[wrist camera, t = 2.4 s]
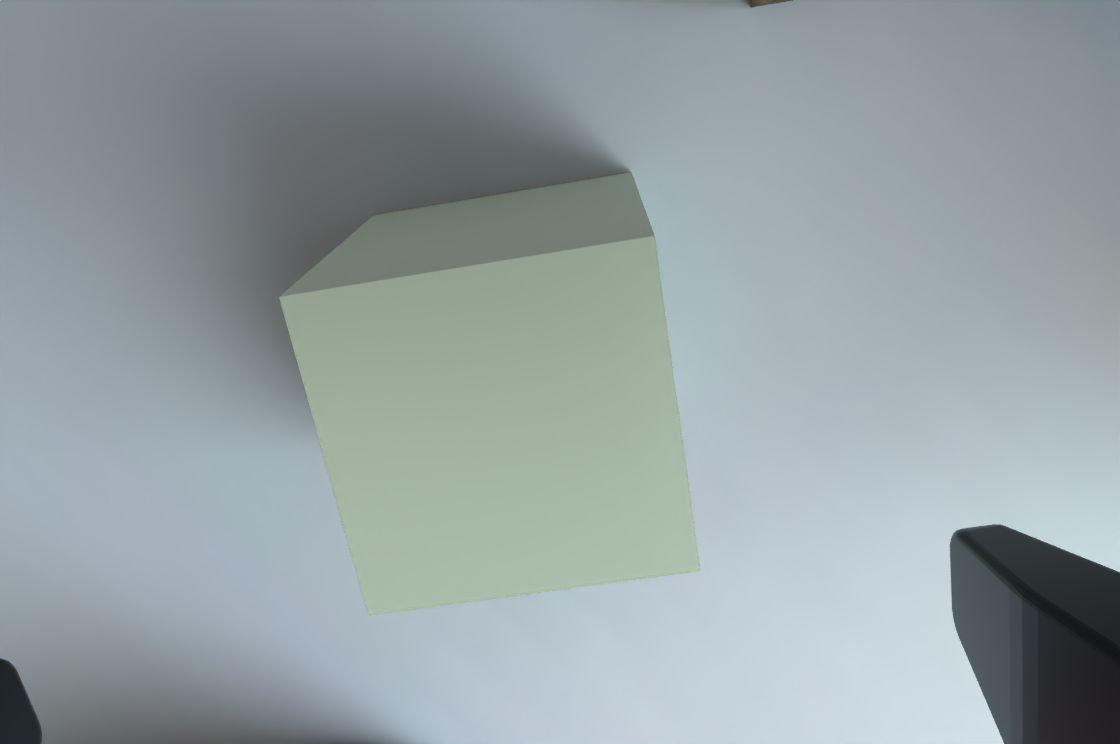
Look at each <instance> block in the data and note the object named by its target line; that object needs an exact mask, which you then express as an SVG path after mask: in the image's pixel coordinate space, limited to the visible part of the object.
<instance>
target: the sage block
mask: <svg viewBox="0 0 1120 744" xmlns="http://www.w3.org/2000/svg"><path fill="white" fill-rule="evenodd" d="M279 299H280V303H281V306H282V310H283V314H284V317H285V321H286V324H287V328H288V331H289V335H290V339H291V342H292V346H293V349H294V353H295V356H296V360H297V364H298V367H299V371H300V374H301V378H302V382H303V385H304V389H305V392H306V396H307V399H308V403H309V407H310V410H311V414H312V417H313V421H314V424H315V428H316V432H317V435H318V439H319V442H320V446H321V450H322V453H323V457H324V460H325V464H326V467H327V471H328V475H329V478H330V482H331V485H332V489H333V492H334V496H335V500H336V503H337V507H338V510H339V514H340V517H341V521H342V525H343V528H344V532H345V535H346V539H347V543H348V546H349V550H350V553H351V557H352V560H353V564H354V568H355V571H356V575H357V578H358V582H359V585H360V589H361V593H362V596H363V600H364V603H365V607H366V611H367V614H368V615H375V614H382V613H390V612H397V611H405V610H412V609H420V608H427V607H435V606H442V605H450V604H457V603H464V602H472V601H479V600H487V599H494V598H502V597H509V596H517V595H524V594H531V593H539V592H546V591H554V590H561V589H569V588H576V587H584V586H591V585H598V584H606V583H613V582H621V581H628V580H636V579H643V578H651V577H658V576H665V575H673V574H680V573H688V572H695V571H700V564H699V557H698V550H697V542H696V535H695V528H694V521H693V513H692V506H691V499H690V491H689V484H688V477H687V469H686V462H685V455H684V448H683V440H682V433H681V426H680V418H679V411H678V404H677V396H676V389H675V382H674V375H673V367H672V360H671V353H670V345H669V338H668V331H667V323H666V316H665V309H664V302H663V294H662V287H661V280H660V272H659V265H658V258H657V250H656V243H655V236H654V233H653V230H652V228H651V225H650V222H649V219H648V217H647V214H646V211H645V208H644V206H643V203H642V200H641V198H640V195H639V192H638V189H637V187H636V184H635V181H634V178H633V176H632V173H631V172H628V173H622V174H616V175H610V176H604V177H598V178H592V179H586V180H581V181H575V182H569V183H563V184H557V185H551V186H545V187H539V188H533V189H527V190H521V191H515V192H509V193H503V194H497V195H491V196H485V197H479V198H473V199H467V200H462V201H456V202H450V203H444V204H438V205H432V206H426V207H420V208H414V209H408V210H402V211H396V212H390V213H384V214H378V215H373V216H372V217H371V218H370V219H368V220H367V221H366V222H365V223H364V224H363V225H361V226H360V227H359V228H358V229H357V230H356V231H355V232H353V233H352V234H351V235H350V236H349V237H348V238H346V239H345V240H344V241H343V242H342V243H341V244H339V245H338V246H337V247H336V248H335V249H334V250H333V251H331V252H330V253H329V254H328V255H327V256H326V257H324V258H323V259H322V260H321V261H320V262H319V263H318V264H316V265H315V266H314V267H313V268H312V269H311V270H309V271H308V272H307V273H306V274H305V275H304V276H302V277H301V278H300V279H299V280H298V281H297V282H296V283H294V284H293V285H292V286H291V287H290V288H289V289H287V290H286V291H285V292H284V293H283V294H282V295H281V296H279Z"/></svg>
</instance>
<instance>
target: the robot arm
mask: <svg viewBox="0 0 1120 744" xmlns="http://www.w3.org/2000/svg"><path fill="white" fill-rule="evenodd" d="M950 563H951V592H952V612H953V618H954V623H955V627H956V630H957V633H958V636H959V639H960V641H961V643H962V646H963V648H964V650H965V653H966V655H967V657H968V660H969V662H970V664H971V667H972V669H973V671H974V674H975V676H976V678H977V681H978V683H979V685H980V688H981V690H982V692H983V695H984V697H985V699H986V702H987V704H988V706H989V709H990V711H991V714H992V716H993V718H994V721H995V723H996V725H997V728H998V730H999V732H1000V735H1001V737H1002V739H1003V742H1004V744H1120V572H1118V571H1115V570H1113V569H1110V568H1108V567H1105V566H1103V565H1100V564H1098V563H1095V562H1093V561H1090V560H1088V559H1085V558H1083V557H1080V556H1078V555H1075V554H1073V553H1070V552H1068V551H1065V550H1063V549H1060V548H1058V547H1056V546H1053V545H1051V544H1048V543H1046V542H1043V541H1041V540H1038V539H1036V538H1033V537H1031V536H1028V535H1026V534H1023V533H1021V532H1018V531H1016V530H1013V529H1011V528H1008V527H1006V526H1003V525H995V524H993V525H986V526H979V527H971V528H964V529H960V530H957V531H956V532H955V533H954V534H953V535H952V538H951V542H950ZM41 742H42V732H41V725H40V722H39V720H38V718H37V715H36V713H35V711H34V708H33V706H32V704H31V702H30V699H29V697H28V695H27V693H26V690H25V688H24V686H23V683H22V681H21V679H20V677H19V674H18V672H17V670H16V668H15V667H14V666H13V665H12V664H11V663H10V662H9V661H7V660H4V659H1V658H0V744H41Z"/></svg>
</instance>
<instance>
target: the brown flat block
mask: <svg viewBox="0 0 1120 744" xmlns="http://www.w3.org/2000/svg"><path fill="white" fill-rule="evenodd" d="M786 1H791V0H750V3H751V7H756V6H762V5H768V4H774V3H780V2H786Z"/></svg>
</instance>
